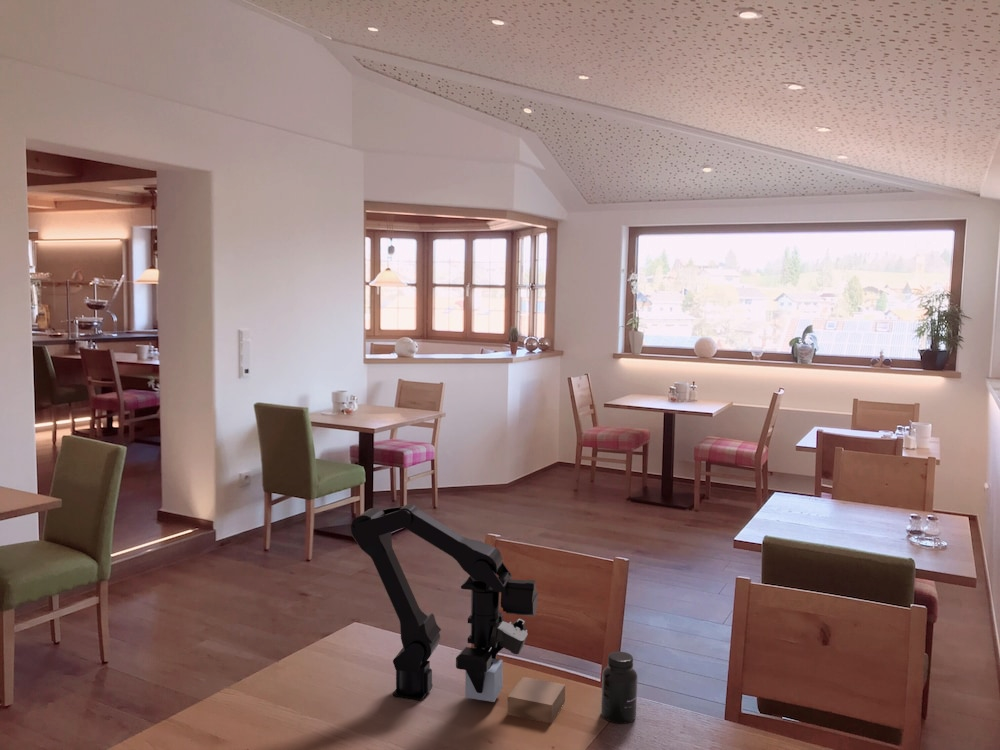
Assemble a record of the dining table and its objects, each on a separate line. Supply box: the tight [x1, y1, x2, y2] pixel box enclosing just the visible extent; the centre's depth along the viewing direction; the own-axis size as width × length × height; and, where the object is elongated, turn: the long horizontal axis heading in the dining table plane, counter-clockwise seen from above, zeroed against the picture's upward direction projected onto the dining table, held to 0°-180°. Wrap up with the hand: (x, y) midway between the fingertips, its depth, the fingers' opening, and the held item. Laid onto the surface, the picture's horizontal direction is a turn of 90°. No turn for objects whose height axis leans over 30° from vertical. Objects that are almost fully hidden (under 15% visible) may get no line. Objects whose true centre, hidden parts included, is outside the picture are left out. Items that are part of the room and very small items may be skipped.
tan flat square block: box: [507, 676, 566, 725], centre depth 159 cm, size 9×9×4 cm
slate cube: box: [464, 658, 504, 703], centre depth 162 cm, size 6×6×6 cm
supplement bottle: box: [600, 651, 639, 724], centre depth 156 cm, size 7×7×12 cm
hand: (484, 685), depth 162 cm, fingers closed on slate cube, 6 cm apart
